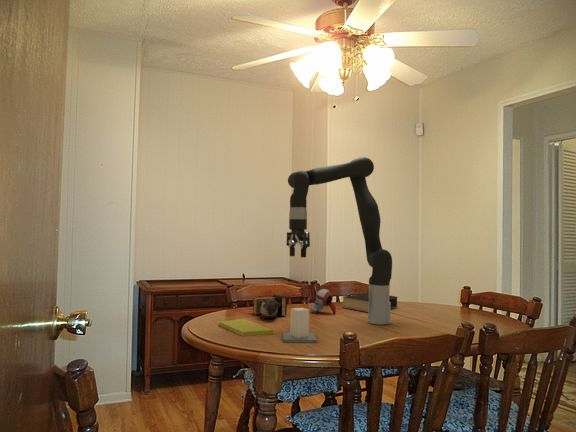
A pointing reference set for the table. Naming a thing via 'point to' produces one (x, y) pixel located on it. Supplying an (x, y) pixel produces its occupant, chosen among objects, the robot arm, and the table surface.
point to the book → (363, 302)
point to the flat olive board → (245, 327)
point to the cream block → (299, 322)
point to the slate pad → (289, 338)
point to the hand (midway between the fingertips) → (297, 256)
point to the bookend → (270, 306)
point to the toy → (322, 301)
